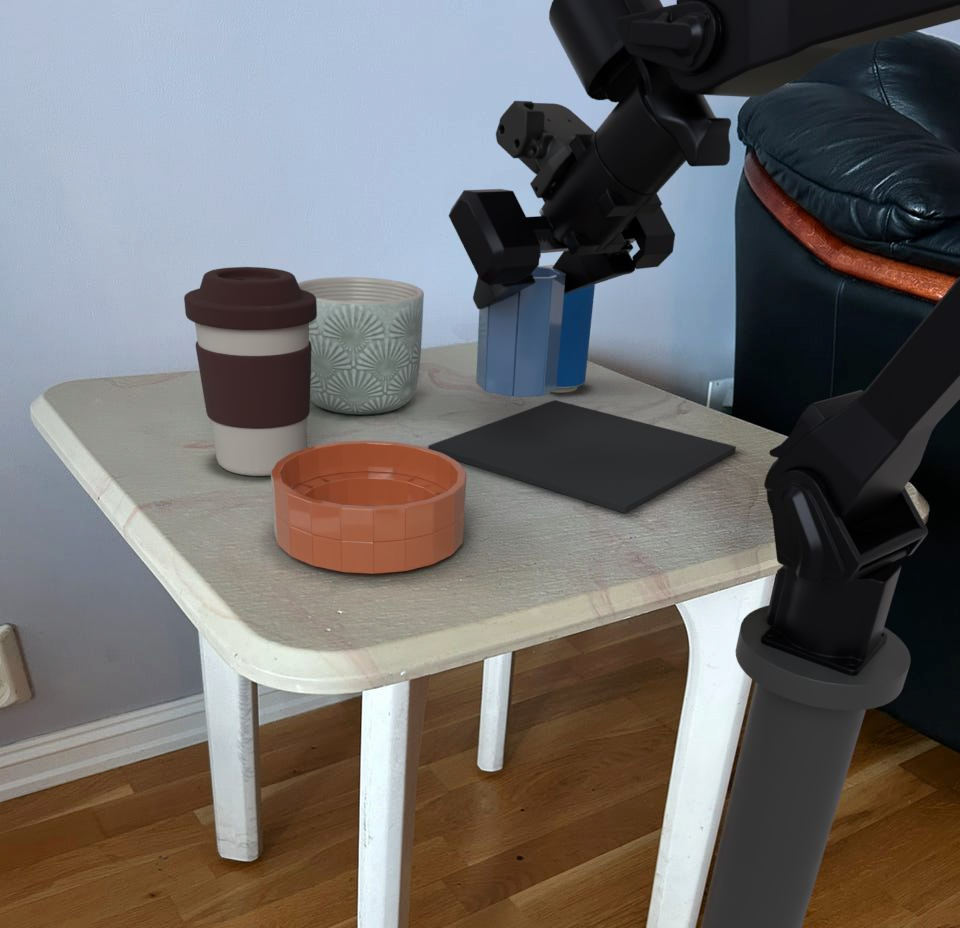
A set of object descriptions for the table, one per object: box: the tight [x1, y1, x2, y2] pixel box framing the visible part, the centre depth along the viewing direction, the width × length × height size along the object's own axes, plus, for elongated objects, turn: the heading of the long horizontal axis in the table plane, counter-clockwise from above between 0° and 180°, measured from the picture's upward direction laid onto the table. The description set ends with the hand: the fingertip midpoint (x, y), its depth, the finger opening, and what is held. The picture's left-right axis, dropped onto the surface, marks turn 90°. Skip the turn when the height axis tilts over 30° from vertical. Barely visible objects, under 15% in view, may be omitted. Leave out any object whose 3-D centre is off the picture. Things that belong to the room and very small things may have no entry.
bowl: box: [270, 439, 467, 575], centre depth 69 cm, size 13×13×5 cm
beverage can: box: [541, 264, 596, 394], centre depth 104 cm, size 6×6×12 cm
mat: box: [427, 399, 737, 514], centre depth 88 cm, size 20×20×1 cm
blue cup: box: [475, 265, 566, 398], centre depth 79 cm, size 6×6×9 cm
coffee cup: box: [183, 266, 317, 477], centre depth 78 cm, size 10×10×15 cm
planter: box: [297, 276, 425, 416], centre depth 95 cm, size 12×12×11 cm
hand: (510, 299), depth 79 cm, fingers closed on blue cup, 6 cm apart
